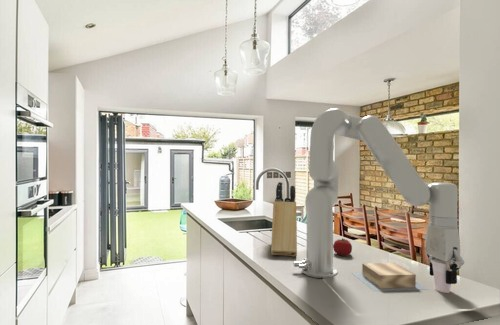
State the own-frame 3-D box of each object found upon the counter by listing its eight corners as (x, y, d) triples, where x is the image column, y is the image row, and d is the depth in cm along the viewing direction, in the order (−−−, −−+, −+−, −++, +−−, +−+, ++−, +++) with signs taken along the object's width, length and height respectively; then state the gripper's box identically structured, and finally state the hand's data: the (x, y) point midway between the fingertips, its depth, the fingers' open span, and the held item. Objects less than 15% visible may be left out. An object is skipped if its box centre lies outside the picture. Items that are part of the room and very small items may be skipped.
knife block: (294, 239, 164) (295, 181, 164) (297, 259, 129) (298, 185, 129) (273, 238, 165) (274, 181, 166) (270, 257, 130) (271, 184, 131)
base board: (374, 292, 95) (374, 291, 95) (351, 274, 111) (351, 273, 111) (428, 291, 97) (428, 289, 97) (398, 273, 113) (398, 271, 113)
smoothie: (445, 288, 100) (445, 244, 100) (459, 296, 93) (460, 250, 93) (426, 288, 99) (426, 244, 100) (439, 296, 93) (439, 250, 93)
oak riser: (380, 288, 97) (380, 275, 97) (362, 274, 109) (362, 263, 109) (415, 287, 99) (415, 274, 99) (394, 273, 111) (394, 262, 111)
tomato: (351, 258, 131) (352, 241, 132) (332, 256, 134) (332, 239, 134) (352, 253, 139) (352, 237, 139) (333, 251, 142) (333, 235, 142)
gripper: (414, 217, 105) (413, 270, 105) (452, 227, 88) (452, 290, 87) (434, 217, 106) (434, 269, 105) (476, 227, 88) (476, 290, 88)
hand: (442, 278), depth 96 cm, fingers open, 6 cm apart
